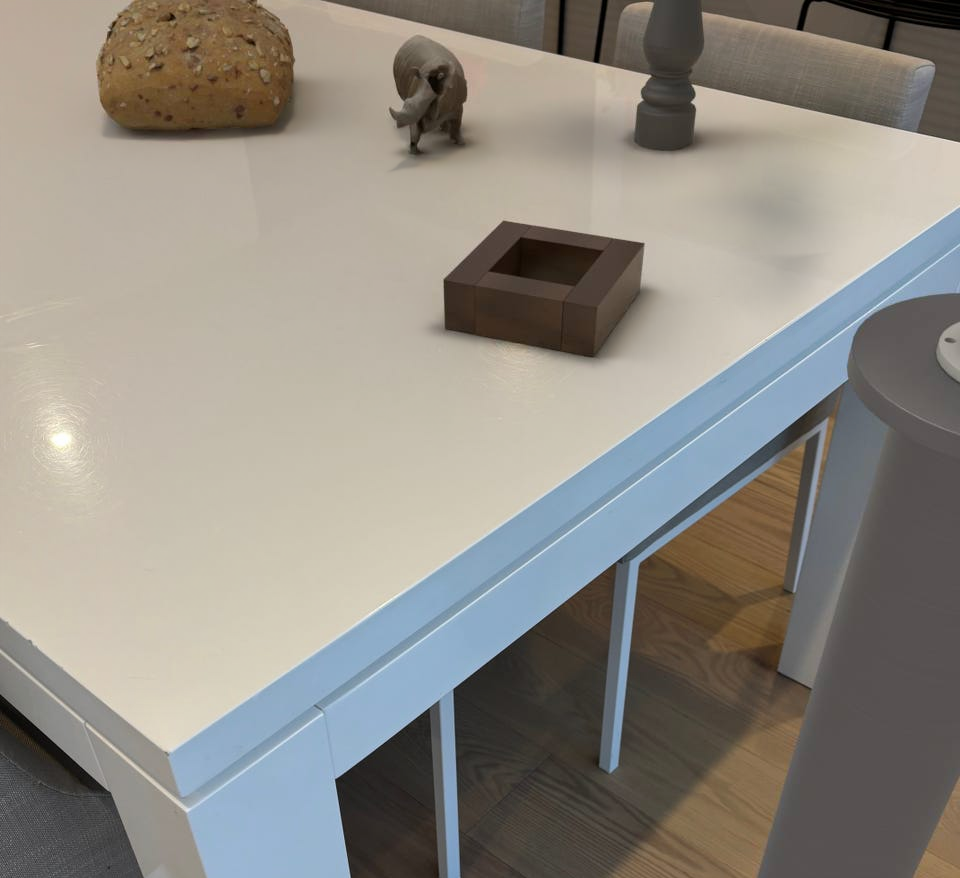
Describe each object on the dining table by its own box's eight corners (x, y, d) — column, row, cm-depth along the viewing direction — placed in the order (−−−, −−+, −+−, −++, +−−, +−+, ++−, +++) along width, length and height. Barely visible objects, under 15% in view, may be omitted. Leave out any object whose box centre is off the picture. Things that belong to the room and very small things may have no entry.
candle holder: (694, 133, 117) (729, -151, 100) (689, 152, 112) (725, -142, 95) (637, 129, 118) (662, -153, 101) (630, 148, 113) (655, -144, 96)
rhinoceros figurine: (468, 84, 121) (457, -21, 107) (478, 193, 119) (467, 100, 104) (400, 92, 122) (379, -12, 107) (407, 201, 119) (387, 109, 104)
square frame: (640, 290, 89) (645, 242, 86) (593, 357, 80) (597, 306, 78) (502, 266, 92) (503, 220, 89) (444, 328, 84) (443, 279, 81)
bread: (294, 138, 116) (280, 13, 108) (94, 143, 115) (64, 17, 107) (306, 72, 134) (294, -40, 126) (133, 76, 133) (110, -36, 125)
